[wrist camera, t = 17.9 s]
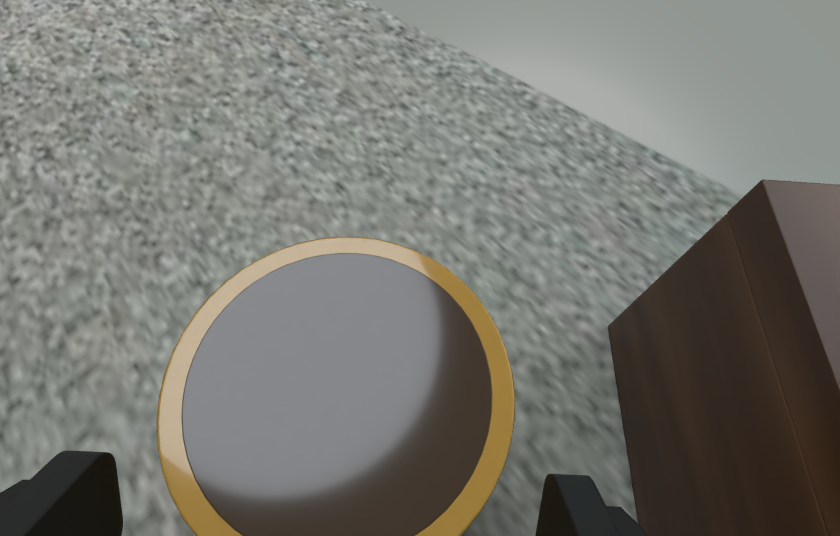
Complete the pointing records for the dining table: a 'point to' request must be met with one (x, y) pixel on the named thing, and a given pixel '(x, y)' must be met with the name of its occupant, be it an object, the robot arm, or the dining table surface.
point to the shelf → (739, 374)
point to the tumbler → (336, 398)
